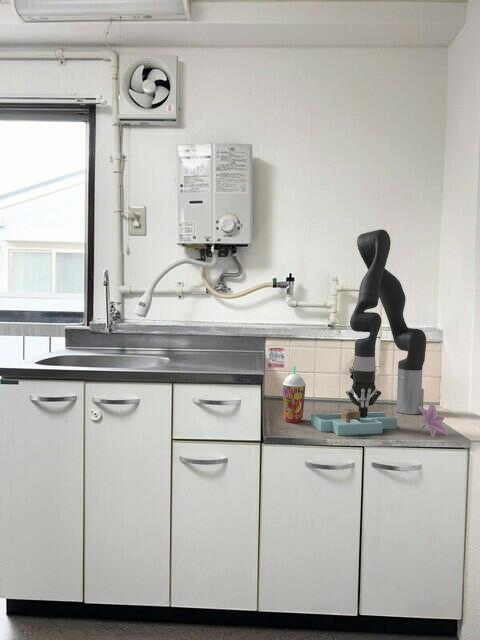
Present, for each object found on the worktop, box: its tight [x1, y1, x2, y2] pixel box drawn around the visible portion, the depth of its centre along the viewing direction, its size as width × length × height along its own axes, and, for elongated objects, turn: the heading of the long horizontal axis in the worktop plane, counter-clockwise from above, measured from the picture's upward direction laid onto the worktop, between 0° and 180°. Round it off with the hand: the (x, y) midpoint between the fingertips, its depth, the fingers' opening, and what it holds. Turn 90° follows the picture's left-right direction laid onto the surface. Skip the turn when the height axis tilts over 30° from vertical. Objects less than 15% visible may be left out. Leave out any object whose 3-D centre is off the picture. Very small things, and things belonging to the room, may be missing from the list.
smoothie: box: [282, 365, 307, 424], centre depth 190 cm, size 8×8×20 cm
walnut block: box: [340, 408, 360, 422], centre depth 185 cm, size 5×5×4 cm
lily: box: [418, 401, 449, 438], centre depth 178 cm, size 12×12×10 cm
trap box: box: [310, 411, 398, 436], centre depth 182 cm, size 28×15×4 cm, turn 102°
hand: (362, 417), depth 185 cm, fingers closed
